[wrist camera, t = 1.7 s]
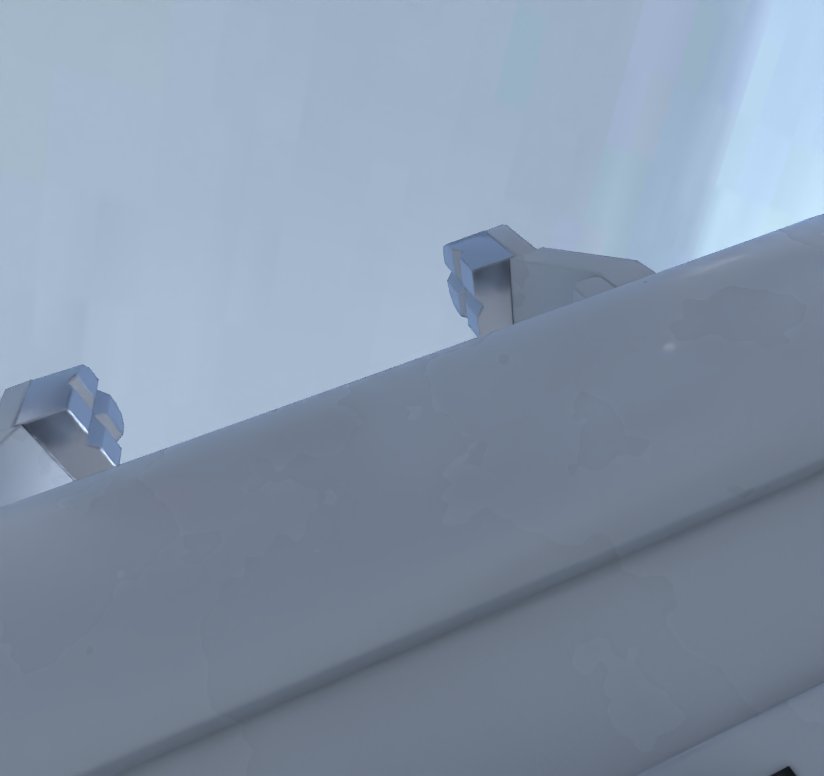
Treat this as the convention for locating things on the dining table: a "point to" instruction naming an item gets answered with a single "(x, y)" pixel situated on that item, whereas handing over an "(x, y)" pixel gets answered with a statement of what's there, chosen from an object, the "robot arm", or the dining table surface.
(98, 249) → the dining table surface
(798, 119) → the dining table surface
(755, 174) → the dining table surface
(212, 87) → the dining table surface
